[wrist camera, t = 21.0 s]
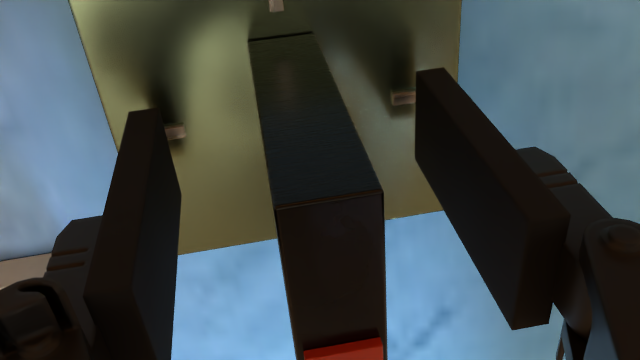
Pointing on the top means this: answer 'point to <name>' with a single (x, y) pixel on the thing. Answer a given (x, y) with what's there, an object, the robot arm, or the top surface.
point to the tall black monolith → (321, 204)
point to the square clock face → (239, 96)
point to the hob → (22, 269)
